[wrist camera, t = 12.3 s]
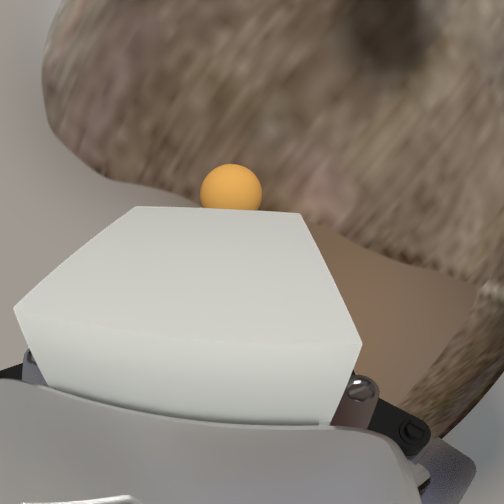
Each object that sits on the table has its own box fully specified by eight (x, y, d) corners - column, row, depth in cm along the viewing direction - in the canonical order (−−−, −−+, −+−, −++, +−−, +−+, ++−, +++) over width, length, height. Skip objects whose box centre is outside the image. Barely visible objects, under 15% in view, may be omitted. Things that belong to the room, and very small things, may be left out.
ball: (257, 240, 24) (260, 195, 27) (263, 199, 20) (266, 154, 23) (197, 234, 24) (207, 190, 27) (192, 193, 20) (204, 149, 23)
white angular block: (299, 213, 13) (362, 344, 5) (282, 344, 16) (296, 487, 8) (135, 206, 13) (12, 307, 5) (151, 334, 16) (100, 462, 8)
